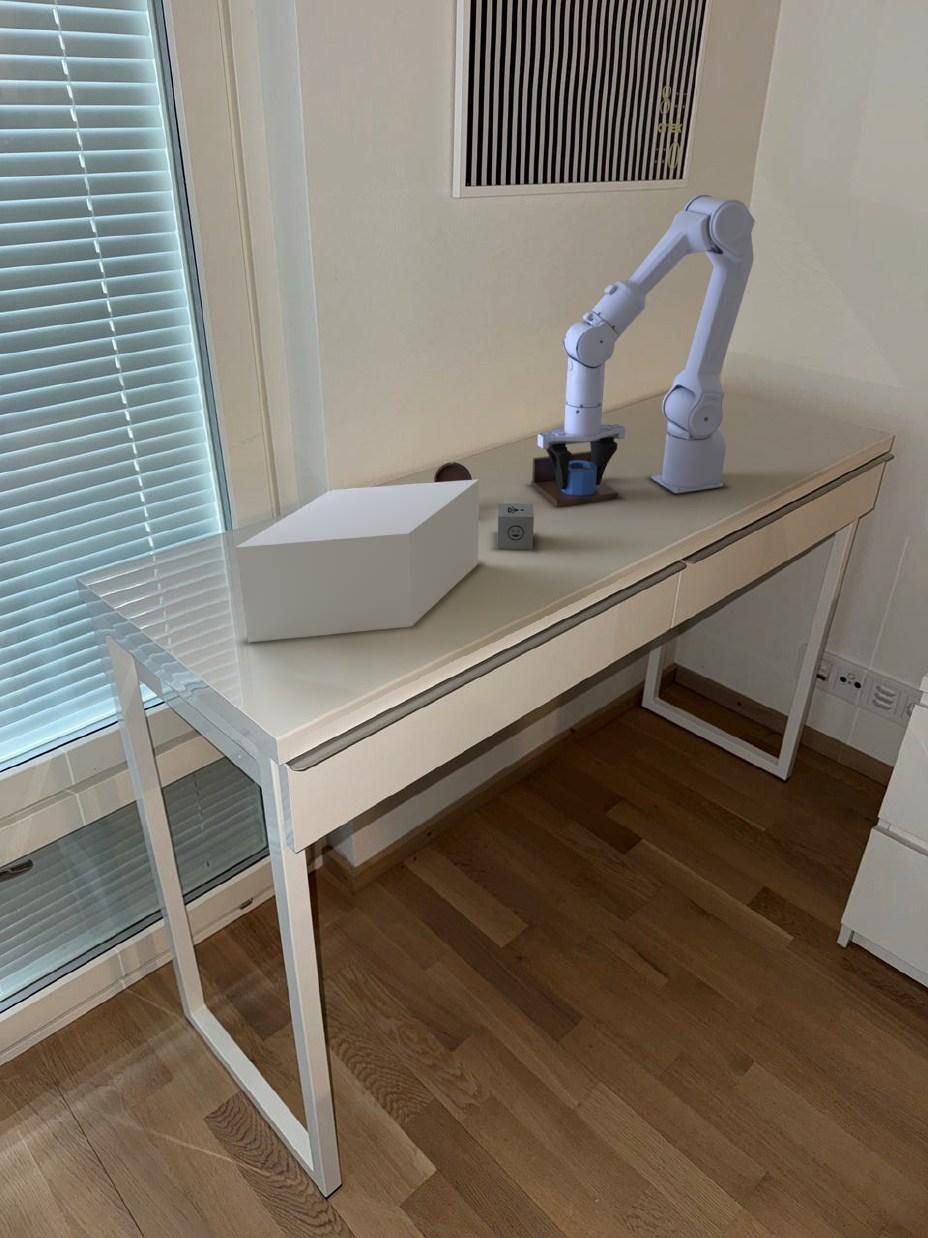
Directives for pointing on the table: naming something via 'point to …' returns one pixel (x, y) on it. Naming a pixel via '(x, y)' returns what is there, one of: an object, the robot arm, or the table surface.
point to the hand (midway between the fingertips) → (578, 485)
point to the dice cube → (515, 526)
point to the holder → (548, 488)
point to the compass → (452, 473)
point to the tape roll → (581, 478)
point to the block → (359, 560)
